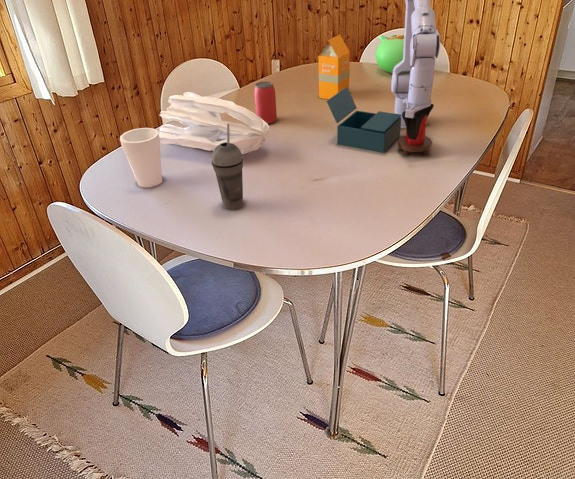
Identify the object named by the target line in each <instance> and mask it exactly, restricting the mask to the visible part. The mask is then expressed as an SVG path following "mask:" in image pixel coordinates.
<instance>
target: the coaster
mask: <svg viewBox="0 0 575 479" xmlns="http://www.w3.org/2000/svg"><path fill="white" fill-rule="evenodd" d="M405 140H406V134H405V135H402V136H399V137H398V138H397V146H398V148H399V149H401V150H403V155H404V156H409V153H410V152H411V153H422V154H423V155H427V154H428V151H429V150H430V149H431V148H432V147H433V140H432V139H431V138H430V137H429V136H426V135H425V141H424V143H422V144H419V145H413V144H409V143H407V142H406V141H405Z"/></svg>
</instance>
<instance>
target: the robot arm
mask: <svg viewBox="0 0 575 479" xmlns="http://www.w3.org/2000/svg"><path fill="white" fill-rule="evenodd" d="M404 2H405V15H404V16H405V17H404V31H403V32H404V34H403V35H404V50H403V60H402V61H401V62H400V63H398V64H397V65H396V66H395V67H394V69H393V73H392V75H391V81H390V82H391V84H390V85H391V86H390V87H391V89H390V90H391V93H392V94H393V95H395V98H394V112H393V114H400V115H401V129H405V128H406V129H407V135H408V139H414V140H416V138H417V136H418V132H419V128H420V125H421V122H422V120H423V118H424V117H425V115H420V114H419V113H418V111H420V112H424V113H426V114H427V119H428V118H429V115H430V113H431V112H432V110H433V109H434V107H435V105H434V104H433V103H432V92H433V83H434V74H435V67H436V59H438V57H439V55H440V49H441V36H440V32H439V30H438V29H437V27H436V26H437V25H436V12H435V11H434V10H435V9H433V8H431V7H430V6H431V5H430V4H431V0H404ZM402 71H410V72H402ZM426 126H428V123H427V124H426ZM406 129H405V130H406Z"/></svg>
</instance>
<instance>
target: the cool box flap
mask: <svg viewBox="0 0 575 479" xmlns="http://www.w3.org/2000/svg"><path fill="white" fill-rule="evenodd" d="M326 104H327V106H328V108H329V110H330V112H331V115H332V116H333V119H334V121H335V123H336V124H340V123H341V122H342V121H344V120H345V118H347V117H349V116H350V114H352V112H353V113H354V112H355V111H356V110H357V109H358V108H357V105H356V103H355V100H354V99H353V97H352V94H351V92H350V88H349V89H348V87H346V88H344V89H343V90H341V91H340V92H339V93H337V94H336V95H334V96H333V97H332V98H330V99H326Z"/></svg>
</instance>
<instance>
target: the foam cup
mask: <svg viewBox="0 0 575 479" xmlns="http://www.w3.org/2000/svg"><path fill="white" fill-rule="evenodd" d="M158 132H159V130H157V129H156V128H152V127H138V128H133V129H130V130H128V131H126V132H123V133H122V134H121V135H119V136H120V137H119V141H120V145H121V148H122V150H123V151H124V154H125V156H126V158H127V161H128V163H129V166H130V169H131V170H132V173H133V175H134V178H135V181H136V183H137V185H138V186H139V187H140V188H145V189H146V188H153V187H157V186H159V185H161V183H162V182H163V171H162V157H161V144H160V138H159V133H158Z"/></svg>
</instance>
